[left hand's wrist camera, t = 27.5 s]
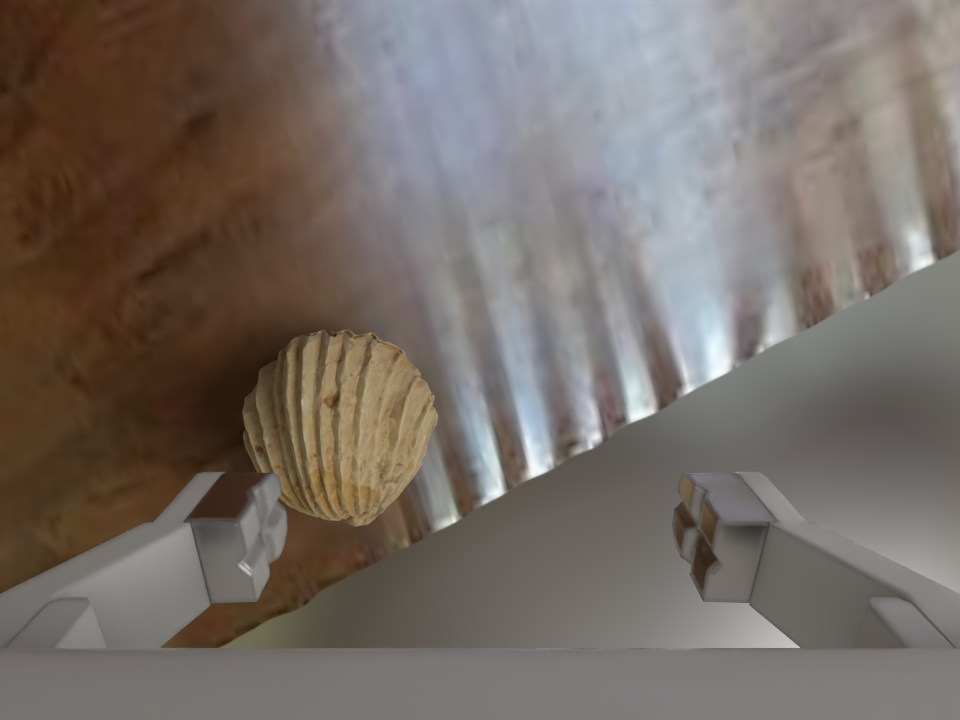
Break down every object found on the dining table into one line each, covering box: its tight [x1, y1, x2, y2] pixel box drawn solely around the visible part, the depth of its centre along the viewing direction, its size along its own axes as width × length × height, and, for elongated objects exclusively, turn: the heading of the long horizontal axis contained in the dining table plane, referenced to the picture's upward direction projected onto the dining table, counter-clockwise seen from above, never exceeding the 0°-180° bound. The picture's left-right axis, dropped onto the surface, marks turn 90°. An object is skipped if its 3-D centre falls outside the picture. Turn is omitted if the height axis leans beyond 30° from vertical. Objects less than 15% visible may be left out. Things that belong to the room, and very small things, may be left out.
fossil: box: [242, 329, 438, 527], centre depth 42 cm, size 15×17×15 cm
